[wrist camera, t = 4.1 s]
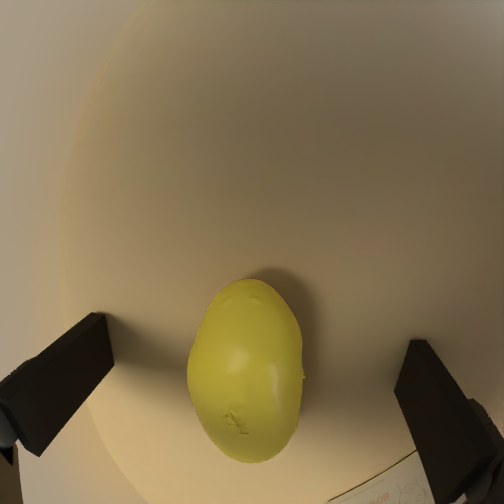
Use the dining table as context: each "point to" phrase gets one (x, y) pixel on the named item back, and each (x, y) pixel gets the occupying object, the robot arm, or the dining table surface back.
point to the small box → (395, 486)
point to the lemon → (247, 371)
